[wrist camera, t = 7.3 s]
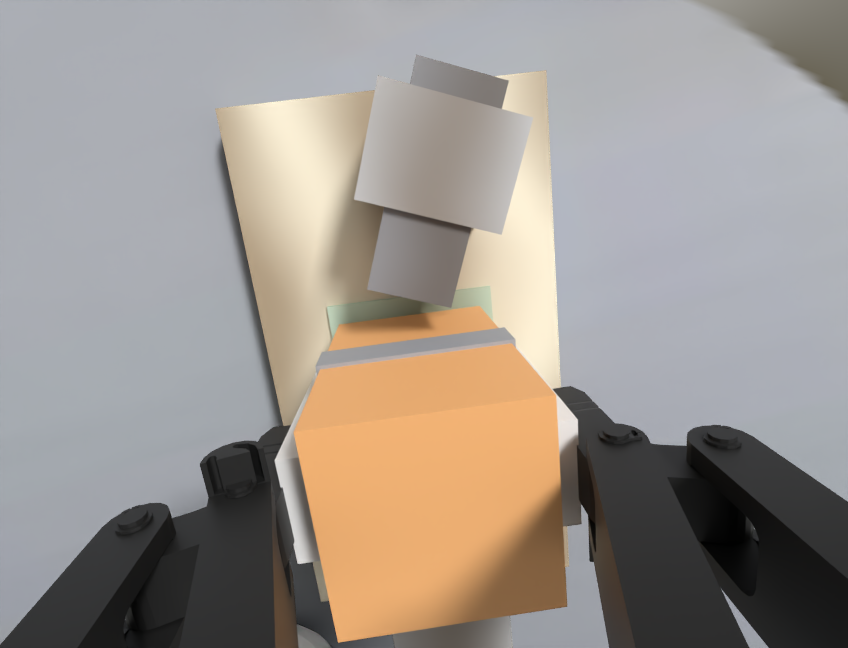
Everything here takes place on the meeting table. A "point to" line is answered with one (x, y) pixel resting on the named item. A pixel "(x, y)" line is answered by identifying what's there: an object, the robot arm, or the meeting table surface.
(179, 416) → the meeting table surface
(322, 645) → the grey green yarn ball
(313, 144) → the coupling bench
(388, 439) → the block
